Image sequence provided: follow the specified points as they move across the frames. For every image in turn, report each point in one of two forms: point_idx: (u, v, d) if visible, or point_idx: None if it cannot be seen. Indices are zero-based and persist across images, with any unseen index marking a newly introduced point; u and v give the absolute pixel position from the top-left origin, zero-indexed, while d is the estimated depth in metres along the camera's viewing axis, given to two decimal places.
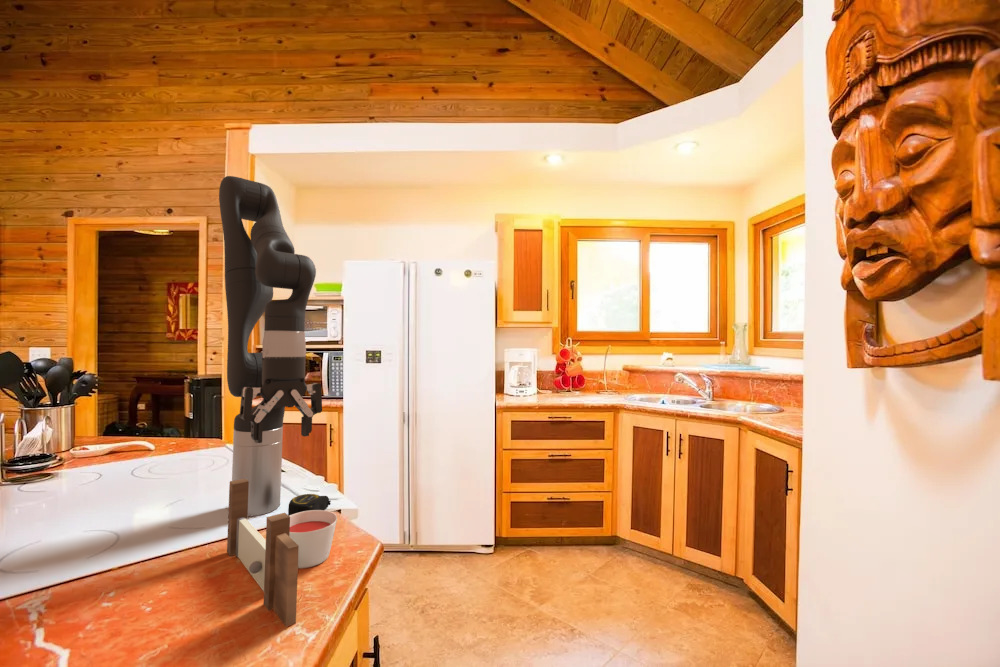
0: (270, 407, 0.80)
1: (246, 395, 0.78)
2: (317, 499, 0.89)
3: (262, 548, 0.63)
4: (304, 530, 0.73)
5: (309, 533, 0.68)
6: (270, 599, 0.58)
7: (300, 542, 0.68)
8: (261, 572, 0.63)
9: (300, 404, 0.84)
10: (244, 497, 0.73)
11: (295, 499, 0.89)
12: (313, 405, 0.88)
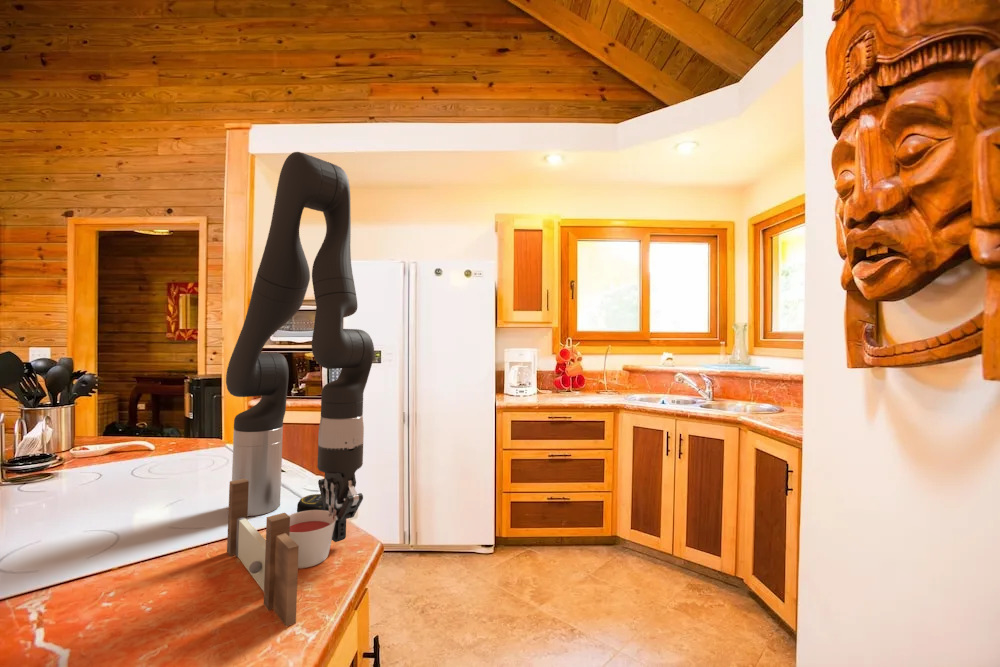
0: None
1: (360, 502, 0.73)
2: None
3: (262, 548, 0.63)
4: (304, 530, 0.73)
5: (308, 533, 0.68)
6: (270, 599, 0.58)
7: (299, 542, 0.68)
8: (261, 572, 0.63)
9: None
10: (244, 497, 0.73)
11: (304, 499, 0.89)
12: None
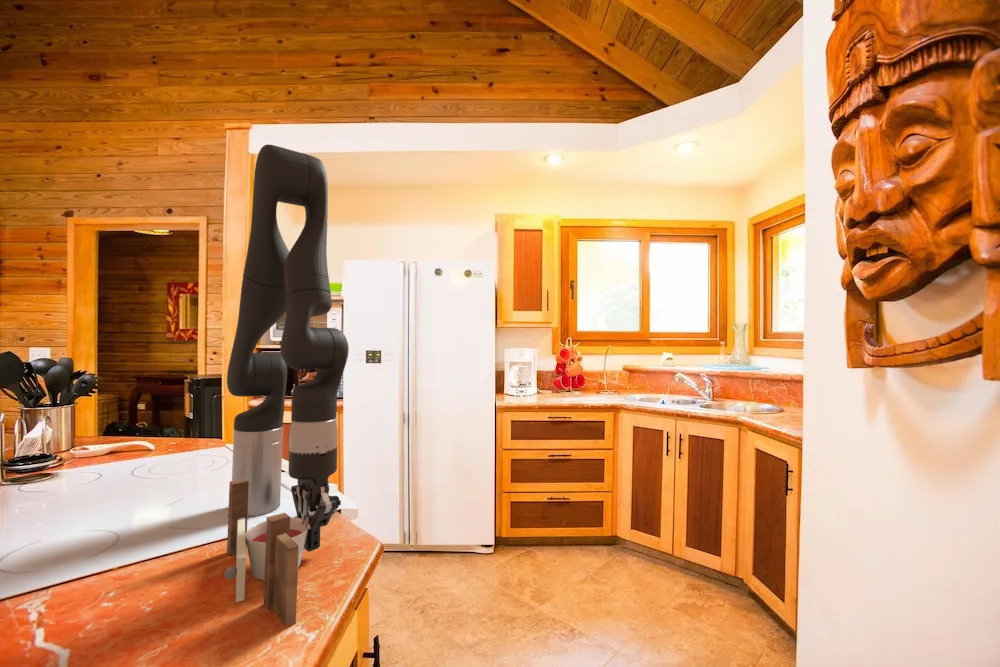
0: None
1: (334, 509, 0.70)
2: None
3: (237, 554, 0.61)
4: None
5: None
6: (270, 599, 0.58)
7: None
8: (236, 578, 0.61)
9: None
10: (244, 497, 0.73)
11: None
12: None
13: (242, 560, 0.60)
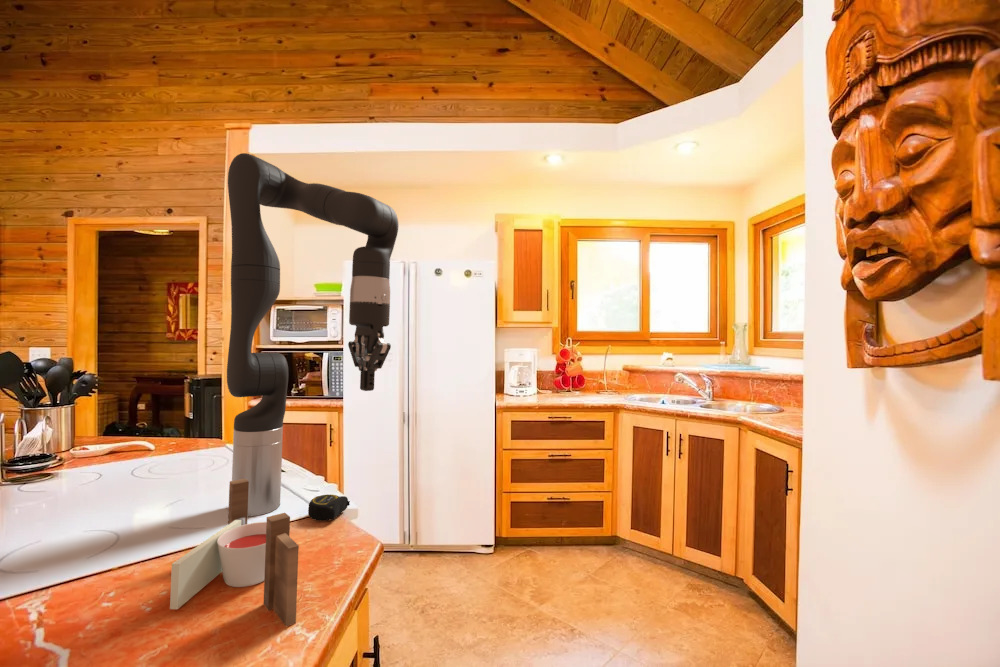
0: None
1: (388, 351, 0.81)
2: (337, 500, 0.89)
3: None
4: (249, 544, 0.67)
5: (241, 550, 0.62)
6: (270, 599, 0.58)
7: (232, 559, 0.62)
8: None
9: None
10: (244, 497, 0.73)
11: (315, 500, 0.89)
12: None
13: (175, 567, 0.57)
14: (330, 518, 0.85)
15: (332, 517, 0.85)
